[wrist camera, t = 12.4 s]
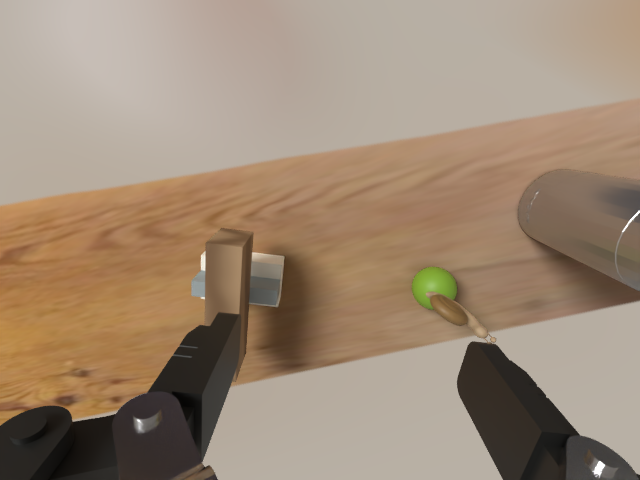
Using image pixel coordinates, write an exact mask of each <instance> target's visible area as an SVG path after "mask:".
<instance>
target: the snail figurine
mask: <svg viewBox="0 0 640 480" xmlns="http://www.w3.org/2000/svg"><path fill="white" fill-rule="evenodd" d="M412 292H413V295H414V298H415V299H416V301H417V302H418V303H419V304H420V305H422V306H423V307H425V308H428V309H431V310H435V311H436V312H437V313H438V314H439V315H440V316H442V317H443V318H444V319H446V320H447V321H449V322H451V323H453V324H455V325H459V326H462V325H465V324H466V325H468V326H469V327H470V328H471V329H472V330H473V331H474V333H475V335H476V336H477V337H479V338H484V339H485V338H486V337H487V336H488V335H489V336H490V334H489V333H488V330H487V329H486V328H485V327H484V326H482V325H481V324H480V323H479V321H478V320H477V319H476V318H475V317H474V316H473V315H472V314H471V313H470V312H469V311H467V310H466V309H465V308H464V307H463V306H461V305H460V304H459V303H457V302H455V301H454V299H455V297H456V294H457V285H456V282H455V279H454V278H453V276H452V275H451V274H450V273H449V272H448V271H446V270H444V269H442V268H439V267H428V268H425V269H423V270H421V271H420V272H418V273H417V274H416V276H415V277H414V279H413V282H412ZM485 340H486V339H485ZM490 340H491V342H493V343H494V342H496V338H494V337H491V339H490ZM486 341H487V340H486ZM491 342H488V341H487V343H491ZM491 344H492V343H491Z"/></svg>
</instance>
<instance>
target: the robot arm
mask: <svg viewBox="0 0 640 480" xmlns="http://www.w3.org/2000/svg"><path fill="white" fill-rule="evenodd" d="M518 219H519V223H520V225H521V227H522V229H523V231H524V232H525V233H526V234H527V235H528V236H530V237H532V238H533V239H535V240H537V241H539V242H541V243H543V244H545V245H547V246H549V247H551V248H553V249H555V250H557V251H559V252H561V253H563V254H565V255H567V256H569V257H571V258H573V259H575V260H577V261H579V262H581V263H583V264H585V265H587V266H589V267H591V268H593V269H595V270H597V271H599V272H601V273H603V274H605V275H607V276H609V277H611V278H613V279H615V280H617V281H619V282H621V283H623V284H626V285H628V286H630V287H632V288H634V289H636V290H638V291H640V180H637V179H630V178H623V177H616V176H610V175H603V174H597V173H590V172H582V171H575V170H568V169H562V170H555V171H552V172H549V173H547V174H544V175H542V176H541V177H539V178H538V179H537V180H535V181H534V182H533V183H532V184H531V185H530V186H529V187H528V188H527V190H526V191H525V193H524V194H523V196H522V198H521V201H520V204H519V208H518ZM240 335H241V315H240V314H232V313H223V312H218V313H217V315H216V317H215V318H214V320H213V322H212V323H211V325H210V326H204V325H199V326H198V327H196V328H195V329H193V330H192V331H191V332H189V333H188V334H187V335H186V336H185V338H184V339H183V341H182V342H181V344H180V347H178V348H177V350H176V351H175V353H174V355H173V356H172V357H171V358H170V360H169V361H168V363H167V364H166V366H165V367H164V369H163V370H162V372H161V373H160V375H159V376H158V378H157V379H156V381H155V382H154V384H153V385H152V386H151V388H150V389H149V391H148V392H147V393H144V394H141V395H139V396H136V397H135V398H133V399H131V400H129V401H128V402H126V403H125V404H124V405H123V406H122V407H121V408H120V409H119V410H118V411H117V413H116V414H114V415H111V416H106V417H100V418H95V419H88V420H82V421H76V422H72V416H71V414H70V412H69V411H68V410H67V409H65V408H63V407H60V406H43V407H38V408H34V409H31V410H28V411H25V412H23V413H21V414H19V415H17V416H15V417H13V418H11V419H9V420H8V421H6V422H5V423H3V424H2V425H1V426H0V480H218V479H217V477H216V474H215V472H214V470H213V469H212V467H210V466H207V467H204V465H203V463H202V462H203V459H204V456H205V454H206V451H207V448H208V445H209V443H210V440H211V437H212V435H213V431H214V429H215V426H216V423H217V421H218V418H219V415H220V412H221V410H222V407H223V405H224V402H225V399H226V396H227V394H228V391H229V388H230V386H231V383H232V380H233V377H234V375H235V372H236V369H237V365H238V360H239V353H240ZM457 388H458V392H459V395H460V398H461V399H462V401H463V404H464V405H465V407H466V409H467V411H468V413H469V415H470V417H471V419H472V421H473V423H474V424H475V426H476V429H477V430H478V432H479V434H480V436H481V438H482V440H483V442H484V444H485V446H486V448H487V450H488V452H489V453H490V455H491V457H492V459H493V461H494V463H495V465H496V467H497V469H498V471H499V473H500V475H501V476H502V478H503V480H640V475H638V474H636V473H635V471H634V470H633V469H632V467H631V466H630V465H629V464H628V463H627V462H626V461H625V460H624V459H623V458H622V457H621V456H620V455H618V454H617V453H616V452H614V451H613V450H612V449H610V448H609V447H607V446H605V445H604V444H602V443H600V442H598V441H596V440H593V439H591V438H588V437H584V436H580V435H579V433H578V432H577V431H576V430H575V429H574V428H573V426H572V425H571V424H570V423H569V422H568V421H567V419H566V418H565V417H564V416H563V415H562V414H561V412H560V411H559V410H558V409H557V408H556V407H555V405H554V404H553V403H552V402H551V401H550V400H549V398H546V395H545V394H544V392H543V391H542V390H541V389H540V388H539V387H537V384H536V383H535V382H534V381H533V380H532V378H531V377H530V376H529V375H528V374H527V372H525V371H524V370H523V369H521V368H520V367H518V366H517V365H516V364H515V363H513V362H512V361H510V360H509V359H508V358H507V357H506V356H505V354H504V353H503V352H502V351H501V350H500V348H499V347H498V346H497V345H496V344H491V343H482V342H471V343H470V344H469V345H468V347H467V350H466V353H465V356H464V360H463V363H462V366H461V369H460V372H459V375H458V380H457Z"/></svg>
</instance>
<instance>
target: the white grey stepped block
mask: <svg viewBox="0 0 640 480" xmlns="http://www.w3.org/2000/svg"><path fill="white" fill-rule="evenodd" d="M205 254H206V251H205V252H204V253H203V254H202V255H201V271H200V272H199V273H198V274H197V275H196V276H195V277H194V279H193V280H192V296H197V297H201V298H202V299H205ZM284 259H285V256H279V255H271V254H262V253H254V252H252V263H251V279H250V295H249V304H254V305H263V306H271V307H278V305H279V301H280V298H281V290H282V279H283V269H284Z"/></svg>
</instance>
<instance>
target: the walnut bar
mask: <svg viewBox="0 0 640 480" xmlns="http://www.w3.org/2000/svg"><path fill="white" fill-rule="evenodd" d="M252 247H253V232H250V231H242V230H234V229H225V228H221V229H220V230H219V231H218V232H217V233H216V234H215V235H214V236H212V237H211V238H210V239H209V240H208V241H207V242H206V254H205V326H210V325H211V323H212V322H213V320H214V318H215V317H216V315H217V313H218V312H223V313H232V314H240V315H241V335H240V353H239V360H238V365H237V369H236V372H235V375H234V377H233V380H232V381H233V382H236V379H237V377H238V374H239V371H240V368H241V365H242V362H243V360H244V357H245V354H246V344H247V328H248V312H249V295H250V279H251V263H252Z"/></svg>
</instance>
